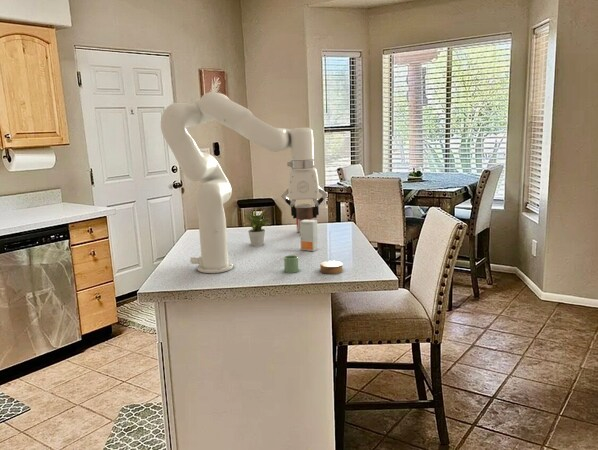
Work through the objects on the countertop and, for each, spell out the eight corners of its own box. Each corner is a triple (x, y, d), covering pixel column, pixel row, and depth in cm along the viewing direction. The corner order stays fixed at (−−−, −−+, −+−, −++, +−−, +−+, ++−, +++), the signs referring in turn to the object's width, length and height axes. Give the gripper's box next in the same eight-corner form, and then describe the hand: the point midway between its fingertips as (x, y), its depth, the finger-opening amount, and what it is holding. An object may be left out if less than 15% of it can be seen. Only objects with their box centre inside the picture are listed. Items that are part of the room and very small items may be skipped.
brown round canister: (294, 219, 172) (294, 208, 171) (296, 216, 178) (296, 204, 177) (314, 219, 171) (313, 207, 170) (315, 215, 177) (315, 204, 177)
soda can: (314, 230, 242) (313, 203, 240) (306, 233, 237) (305, 206, 234) (301, 229, 246) (301, 203, 244) (293, 232, 240) (292, 205, 238)
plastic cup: (283, 272, 177) (283, 259, 176) (285, 268, 182) (285, 255, 181) (297, 272, 176) (297, 258, 175) (298, 268, 181) (298, 255, 180)
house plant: (241, 250, 209) (238, 211, 206) (235, 243, 222) (233, 206, 219) (274, 247, 213) (273, 208, 210) (267, 240, 226) (265, 203, 223)
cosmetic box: (300, 250, 207) (299, 221, 205) (305, 247, 211) (304, 219, 209) (313, 251, 204) (313, 222, 202) (318, 249, 208) (317, 220, 206)
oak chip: (319, 274, 174) (319, 267, 174) (321, 267, 182) (321, 261, 181) (342, 274, 173) (342, 267, 173) (342, 267, 181) (342, 260, 180)
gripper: (275, 167, 168) (278, 220, 172) (328, 165, 166) (330, 219, 170) (278, 165, 176) (281, 216, 179) (329, 163, 174) (331, 214, 177)
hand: (305, 217), depth 175 cm, fingers closed on brown round canister, 6 cm apart
